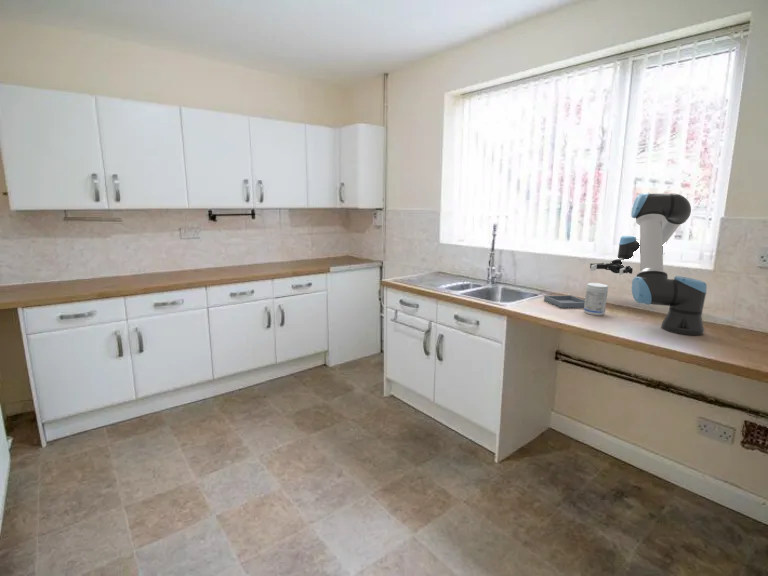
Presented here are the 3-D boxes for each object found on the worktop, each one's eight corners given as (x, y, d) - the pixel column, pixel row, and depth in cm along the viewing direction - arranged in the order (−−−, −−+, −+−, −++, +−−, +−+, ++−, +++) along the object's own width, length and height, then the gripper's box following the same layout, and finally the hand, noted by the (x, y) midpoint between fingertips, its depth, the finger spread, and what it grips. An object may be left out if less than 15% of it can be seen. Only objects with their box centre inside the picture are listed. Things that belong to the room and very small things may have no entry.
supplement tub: (588, 309, 213) (592, 282, 210) (607, 314, 206) (611, 285, 203) (579, 312, 207) (583, 284, 204) (599, 317, 200) (603, 287, 197)
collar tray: (589, 307, 217) (590, 302, 216) (561, 308, 214) (561, 302, 213) (570, 300, 233) (571, 295, 232) (543, 300, 230) (544, 295, 229)
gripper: (643, 276, 216) (631, 281, 201) (593, 269, 233) (579, 273, 219) (646, 261, 215) (634, 266, 200) (595, 256, 232) (581, 259, 217)
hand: (605, 270), depth 209 cm, fingers open, 13 cm apart
